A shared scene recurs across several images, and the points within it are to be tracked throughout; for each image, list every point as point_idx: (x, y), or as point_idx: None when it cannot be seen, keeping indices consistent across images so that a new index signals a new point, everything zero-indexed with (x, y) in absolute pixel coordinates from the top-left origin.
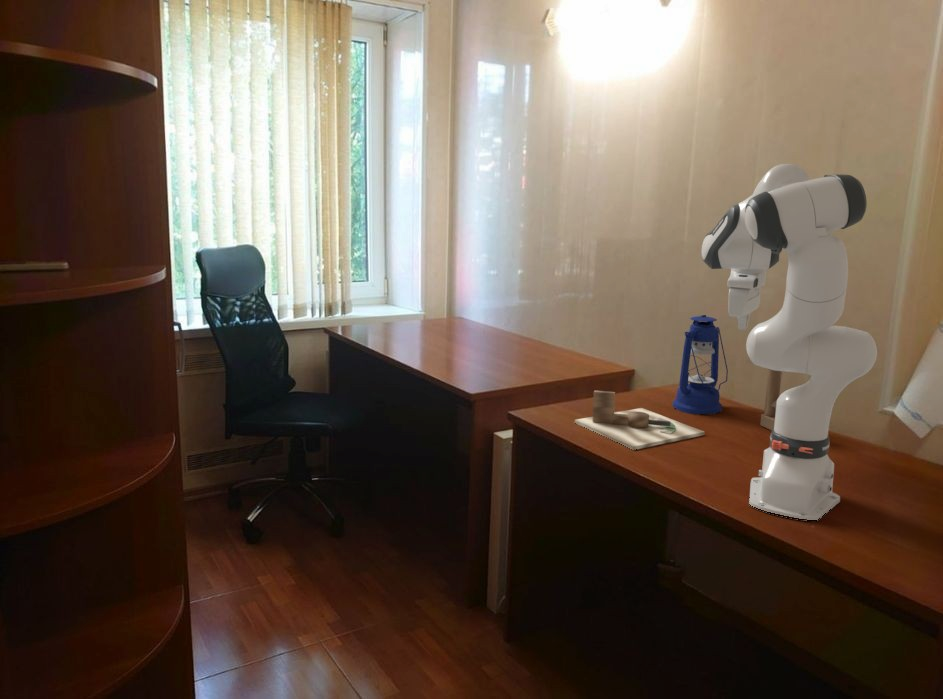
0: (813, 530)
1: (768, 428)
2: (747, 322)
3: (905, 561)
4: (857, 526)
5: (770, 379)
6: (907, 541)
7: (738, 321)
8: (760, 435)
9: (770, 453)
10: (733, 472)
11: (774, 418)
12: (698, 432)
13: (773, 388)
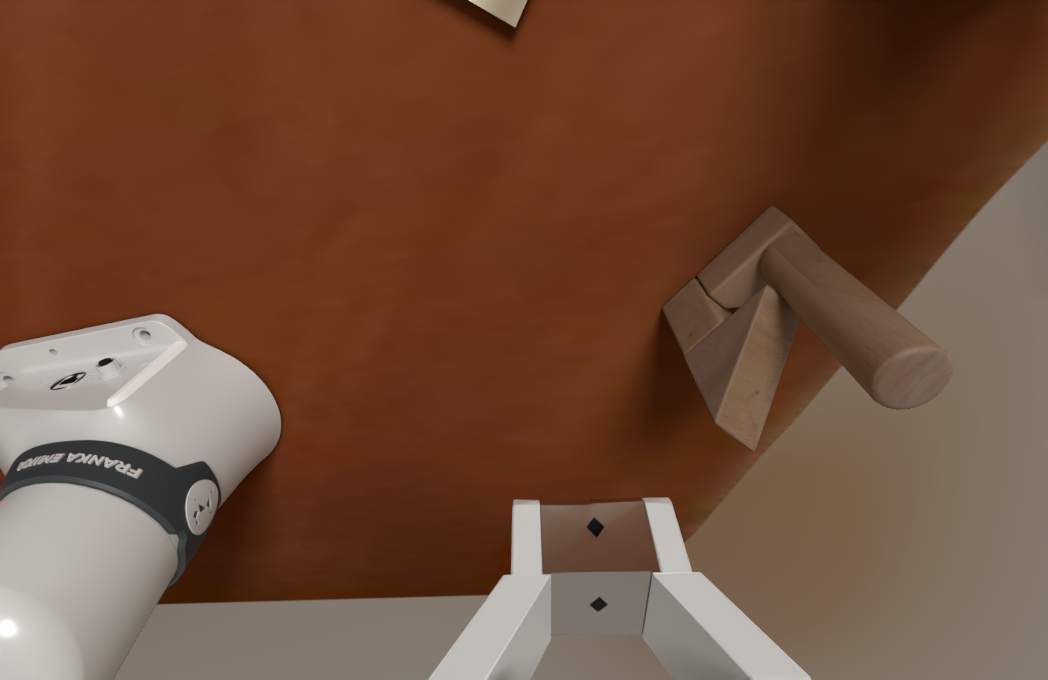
0: None
1: (730, 244)
2: (647, 638)
3: None
4: None
5: (845, 332)
6: None
7: (485, 607)
8: (641, 233)
9: (32, 441)
10: (196, 250)
11: (743, 279)
12: (486, 4)
13: (815, 326)
